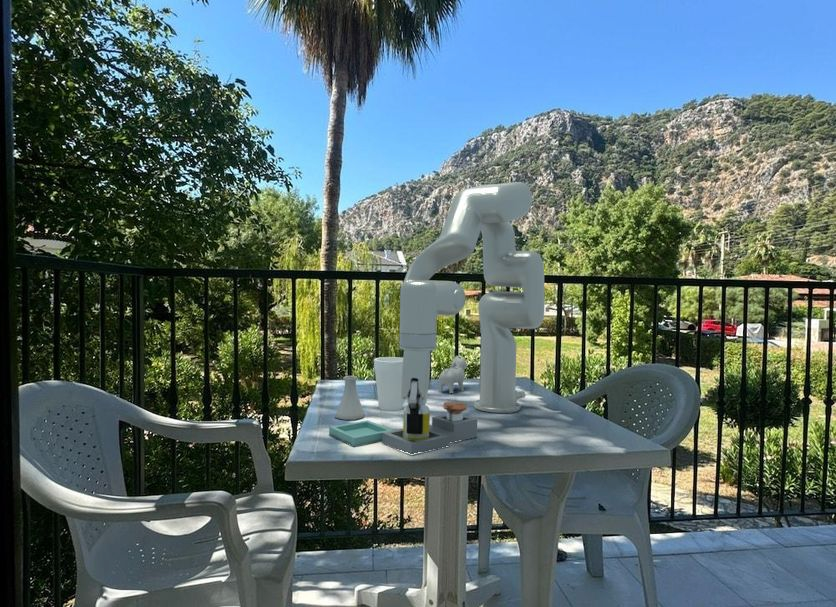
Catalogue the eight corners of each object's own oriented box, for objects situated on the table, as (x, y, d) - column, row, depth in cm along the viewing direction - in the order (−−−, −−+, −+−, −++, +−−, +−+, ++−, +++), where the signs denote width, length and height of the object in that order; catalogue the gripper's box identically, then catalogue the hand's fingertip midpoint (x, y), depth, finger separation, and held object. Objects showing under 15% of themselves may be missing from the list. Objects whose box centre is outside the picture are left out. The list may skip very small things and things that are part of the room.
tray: (367, 428, 119) (368, 420, 119) (393, 438, 111) (394, 430, 111) (329, 435, 113) (329, 427, 113) (353, 447, 105) (354, 438, 105)
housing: (450, 428, 120) (451, 411, 120) (481, 438, 113) (482, 420, 113) (381, 443, 108) (382, 423, 108) (411, 455, 101) (411, 435, 100)
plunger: (454, 431, 118) (455, 400, 118) (470, 436, 114) (471, 404, 114) (438, 434, 115) (438, 403, 114) (453, 440, 111) (454, 407, 111)
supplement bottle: (434, 443, 107) (435, 396, 107) (414, 448, 104) (414, 399, 103) (417, 437, 112) (418, 391, 111) (397, 441, 108) (398, 394, 108)
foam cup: (395, 414, 133) (396, 363, 132) (366, 408, 138) (367, 359, 137) (415, 407, 141) (416, 359, 140) (387, 402, 146) (388, 356, 145)
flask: (369, 415, 131) (370, 375, 131) (356, 422, 124) (357, 380, 124) (343, 412, 134) (344, 373, 133) (329, 419, 127) (330, 378, 126)
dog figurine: (470, 388, 169) (471, 356, 168) (451, 395, 158) (452, 360, 157) (456, 386, 171) (457, 354, 171) (436, 392, 161) (437, 358, 160)
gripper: (405, 336, 116) (403, 417, 116) (393, 346, 99) (391, 440, 99) (438, 337, 115) (437, 419, 116) (433, 347, 98) (431, 442, 99)
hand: (416, 428), depth 108 cm, fingers closed on supplement bottle, 5 cm apart
